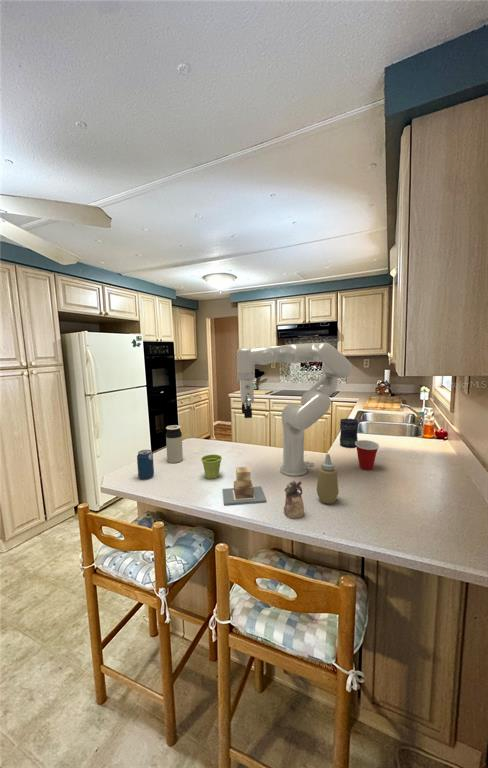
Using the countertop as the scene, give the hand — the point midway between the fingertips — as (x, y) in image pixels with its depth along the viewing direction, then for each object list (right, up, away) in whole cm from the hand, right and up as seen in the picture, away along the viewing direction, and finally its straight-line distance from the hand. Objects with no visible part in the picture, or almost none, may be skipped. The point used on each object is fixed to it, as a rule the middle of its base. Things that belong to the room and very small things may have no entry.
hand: (246, 415), depth 136 cm
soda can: (-46, -29, +5) cm, 55 cm away
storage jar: (+60, -22, +44) cm, 78 cm away
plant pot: (-16, -29, +5) cm, 33 cm away
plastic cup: (+57, -26, +11) cm, 64 cm away
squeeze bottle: (+30, -31, -19) cm, 47 cm away
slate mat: (-1, -30, -15) cm, 34 cm away
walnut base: (-1, -29, -15) cm, 33 cm away
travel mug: (-37, -26, +25) cm, 52 cm away
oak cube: (-1, -25, -15) cm, 30 cm away
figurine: (+16, -32, -28) cm, 45 cm away
